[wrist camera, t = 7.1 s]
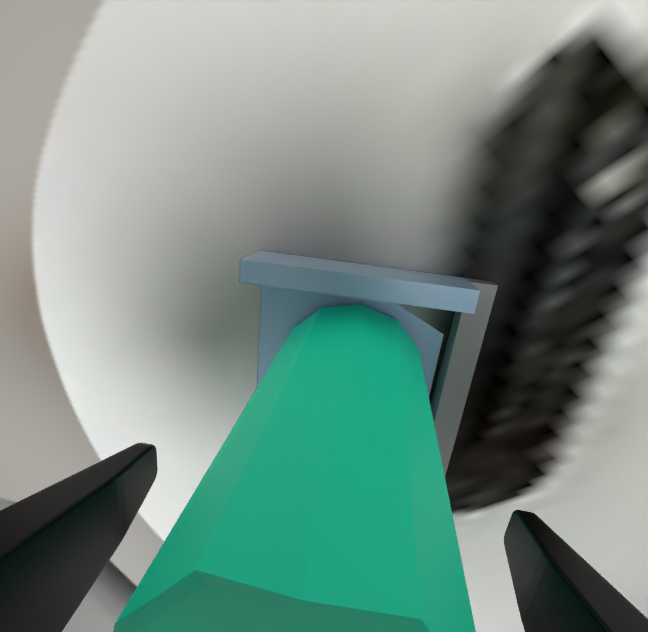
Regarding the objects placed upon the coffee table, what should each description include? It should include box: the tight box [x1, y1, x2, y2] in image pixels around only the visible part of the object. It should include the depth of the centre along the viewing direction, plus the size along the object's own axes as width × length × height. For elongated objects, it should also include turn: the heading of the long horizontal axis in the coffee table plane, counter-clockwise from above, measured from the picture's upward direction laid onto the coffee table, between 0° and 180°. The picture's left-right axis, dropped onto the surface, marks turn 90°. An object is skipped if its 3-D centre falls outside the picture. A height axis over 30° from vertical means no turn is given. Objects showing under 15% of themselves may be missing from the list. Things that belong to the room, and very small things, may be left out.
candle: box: [114, 304, 476, 632], centre depth 9 cm, size 6×6×12 cm
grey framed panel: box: [239, 250, 498, 476], centre depth 15 cm, size 9×17×2 cm, turn 174°
